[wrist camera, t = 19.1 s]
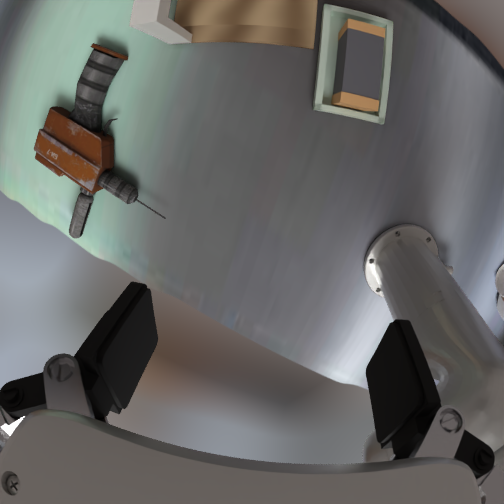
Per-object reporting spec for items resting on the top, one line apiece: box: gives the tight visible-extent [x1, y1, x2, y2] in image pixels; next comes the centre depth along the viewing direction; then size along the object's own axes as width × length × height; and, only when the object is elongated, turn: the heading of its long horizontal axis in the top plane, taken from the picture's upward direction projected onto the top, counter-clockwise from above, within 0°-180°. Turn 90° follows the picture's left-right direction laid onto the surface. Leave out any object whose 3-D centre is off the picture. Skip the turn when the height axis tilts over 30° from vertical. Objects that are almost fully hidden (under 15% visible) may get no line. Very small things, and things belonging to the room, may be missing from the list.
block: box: [331, 18, 385, 111], centre depth 24 cm, size 10×4×6 cm, turn 175°
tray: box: [312, 4, 393, 125], centre depth 26 cm, size 9×14×2 cm, turn 175°
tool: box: [34, 43, 166, 238], centre depth 35 cm, size 4×27×30 cm
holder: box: [174, 0, 318, 49], centre depth 25 cm, size 18×10×1 cm, turn 85°
